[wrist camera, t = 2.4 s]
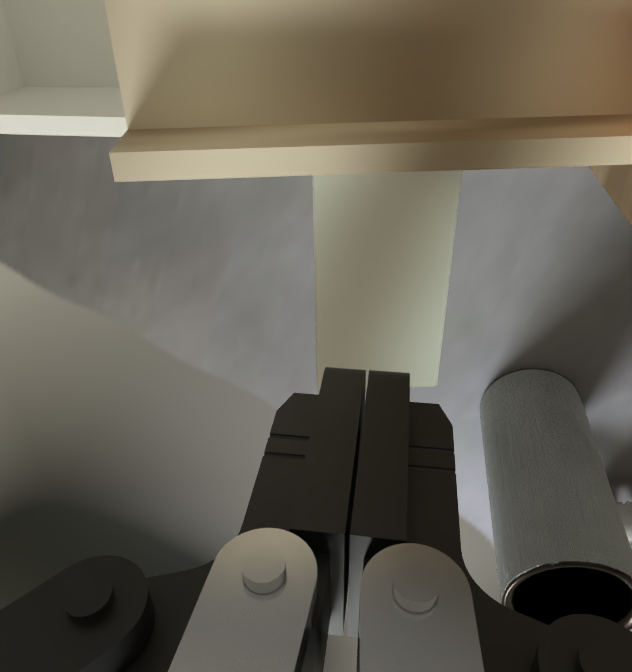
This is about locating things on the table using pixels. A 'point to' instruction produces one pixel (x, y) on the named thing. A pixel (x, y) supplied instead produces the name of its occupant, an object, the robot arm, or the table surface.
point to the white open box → (58, 70)
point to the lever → (372, 129)
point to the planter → (552, 503)
